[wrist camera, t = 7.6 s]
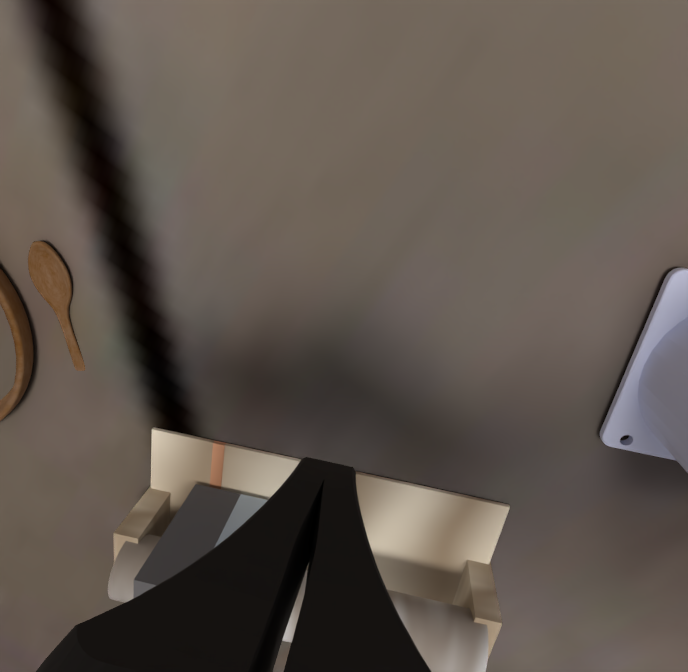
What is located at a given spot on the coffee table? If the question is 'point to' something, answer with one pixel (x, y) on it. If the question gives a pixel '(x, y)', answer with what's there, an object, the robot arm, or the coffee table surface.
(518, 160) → the coffee table surface
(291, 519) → the robot arm
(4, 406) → the place setting
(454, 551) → the pipe rig
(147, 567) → the grey notched block
